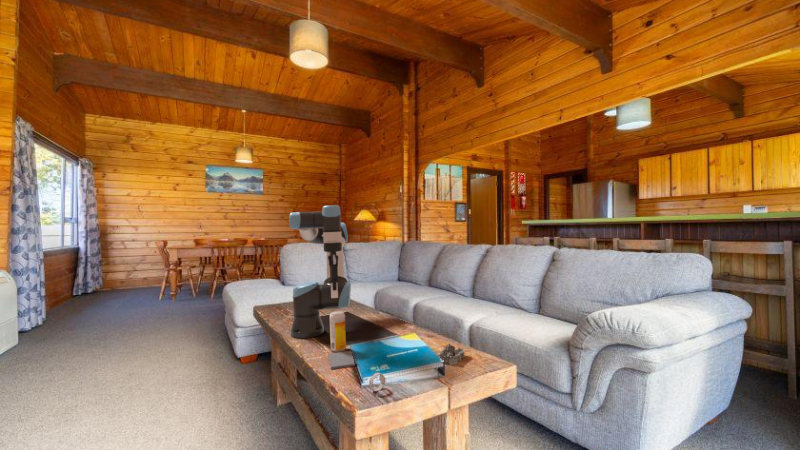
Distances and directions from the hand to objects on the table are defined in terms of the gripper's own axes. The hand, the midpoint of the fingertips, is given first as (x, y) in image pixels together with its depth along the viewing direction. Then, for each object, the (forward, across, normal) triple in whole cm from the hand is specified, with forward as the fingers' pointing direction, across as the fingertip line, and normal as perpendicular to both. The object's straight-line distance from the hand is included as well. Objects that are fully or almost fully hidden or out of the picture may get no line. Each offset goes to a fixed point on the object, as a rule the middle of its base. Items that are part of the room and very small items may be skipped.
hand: (334, 297), depth 152 cm
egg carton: (+20, +33, +39) cm, 55 cm away
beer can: (+20, +8, 0) cm, 21 cm away
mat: (+19, +20, 0) cm, 28 cm away
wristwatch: (+20, +47, +8) cm, 52 cm away
